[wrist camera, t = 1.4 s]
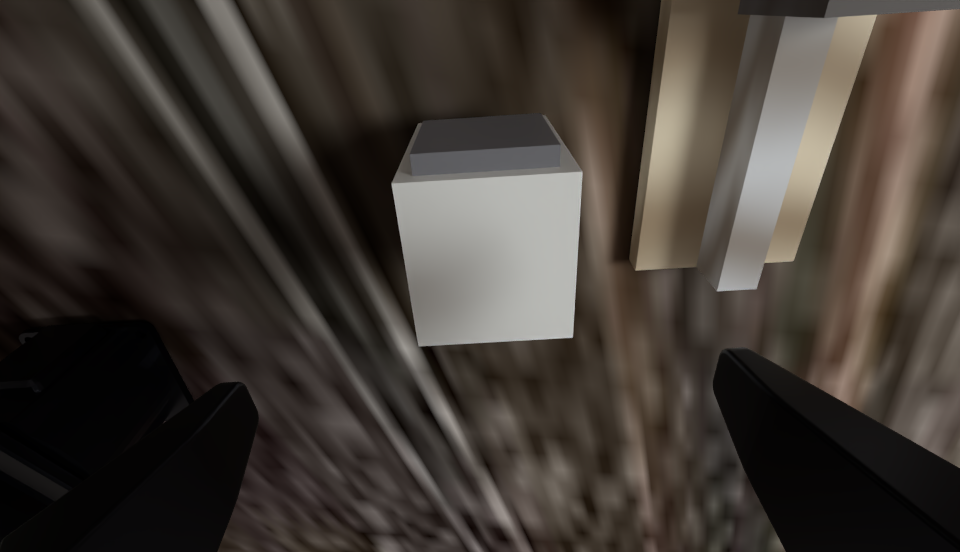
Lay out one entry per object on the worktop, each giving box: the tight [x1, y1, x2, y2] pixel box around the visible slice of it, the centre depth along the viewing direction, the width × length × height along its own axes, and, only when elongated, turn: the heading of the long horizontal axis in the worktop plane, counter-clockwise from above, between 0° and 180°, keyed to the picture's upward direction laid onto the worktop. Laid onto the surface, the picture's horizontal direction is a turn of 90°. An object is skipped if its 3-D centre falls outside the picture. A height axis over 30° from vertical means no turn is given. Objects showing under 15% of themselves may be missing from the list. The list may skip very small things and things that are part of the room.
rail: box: [629, 0, 960, 291], centre depth 14 cm, size 16×7×7 cm, turn 3°
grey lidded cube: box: [392, 113, 582, 346], centre depth 16 cm, size 6×5×7 cm
